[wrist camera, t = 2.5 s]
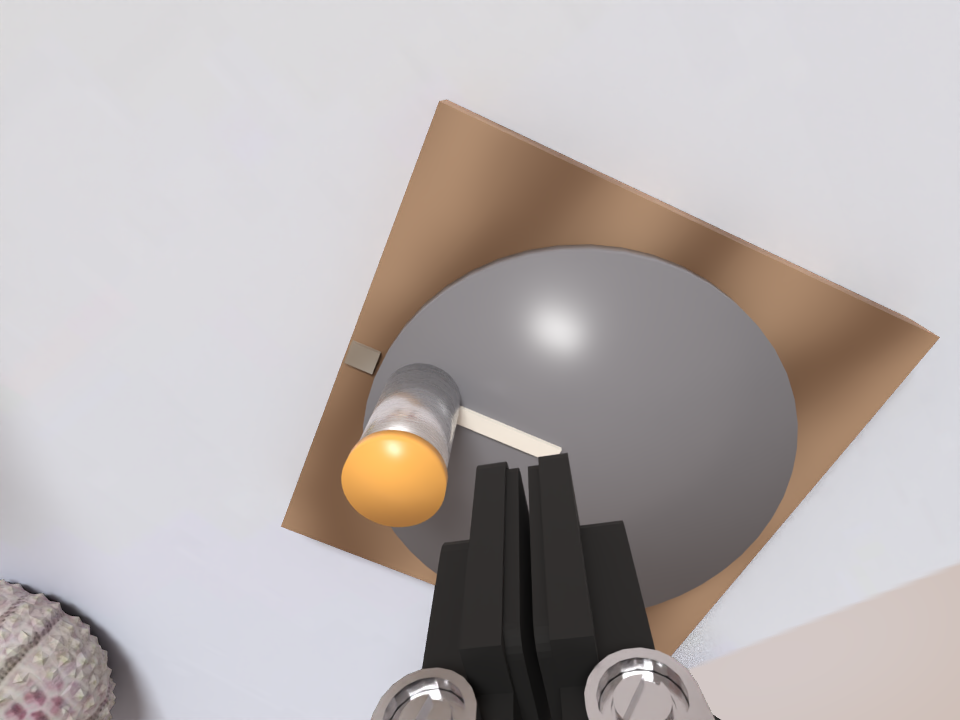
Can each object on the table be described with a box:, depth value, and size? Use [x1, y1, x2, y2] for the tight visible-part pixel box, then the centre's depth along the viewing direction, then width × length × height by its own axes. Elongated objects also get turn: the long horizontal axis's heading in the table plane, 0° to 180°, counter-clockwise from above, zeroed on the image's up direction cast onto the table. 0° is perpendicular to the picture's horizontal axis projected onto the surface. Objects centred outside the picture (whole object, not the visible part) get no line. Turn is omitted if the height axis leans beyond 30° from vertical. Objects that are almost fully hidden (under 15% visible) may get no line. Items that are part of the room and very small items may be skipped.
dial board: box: [281, 100, 940, 656], centre depth 26 cm, size 20×20×2 cm
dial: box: [341, 244, 798, 608], centre depth 22 cm, size 17×17×7 cm
